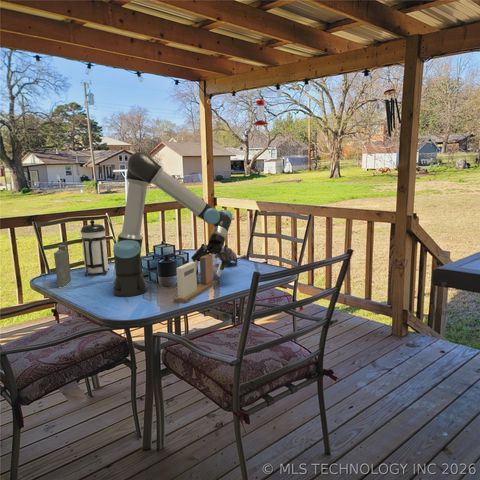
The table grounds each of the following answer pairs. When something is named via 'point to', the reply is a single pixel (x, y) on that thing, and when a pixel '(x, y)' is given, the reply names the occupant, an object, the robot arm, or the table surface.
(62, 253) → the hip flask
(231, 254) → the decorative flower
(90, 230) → the coffee press
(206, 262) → the orange book
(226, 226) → the robot arm
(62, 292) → the table surface
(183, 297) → the ticket holder
